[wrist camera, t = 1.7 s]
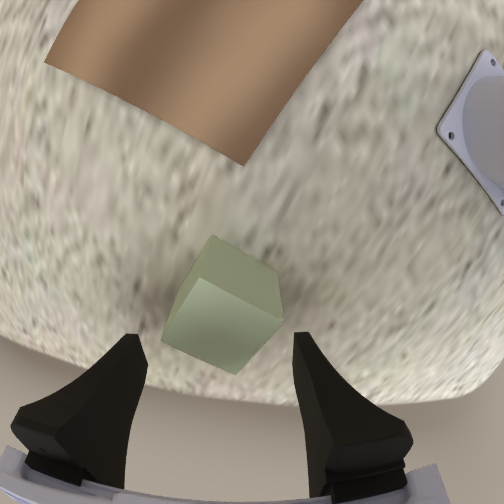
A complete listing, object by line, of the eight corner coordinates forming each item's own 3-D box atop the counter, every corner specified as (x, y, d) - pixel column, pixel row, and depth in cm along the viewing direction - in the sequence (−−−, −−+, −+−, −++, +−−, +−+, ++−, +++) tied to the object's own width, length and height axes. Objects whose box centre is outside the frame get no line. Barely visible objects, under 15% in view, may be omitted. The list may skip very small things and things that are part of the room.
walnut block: (361, -4, 12) (380, -22, 9) (245, 157, 16) (243, 166, 13) (184, -83, 9) (174, -108, 6) (72, 66, 13) (43, 62, 10)
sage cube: (276, 271, 19) (284, 321, 14) (238, 320, 20) (235, 375, 16) (212, 234, 18) (199, 277, 13) (178, 289, 19) (160, 340, 15)
